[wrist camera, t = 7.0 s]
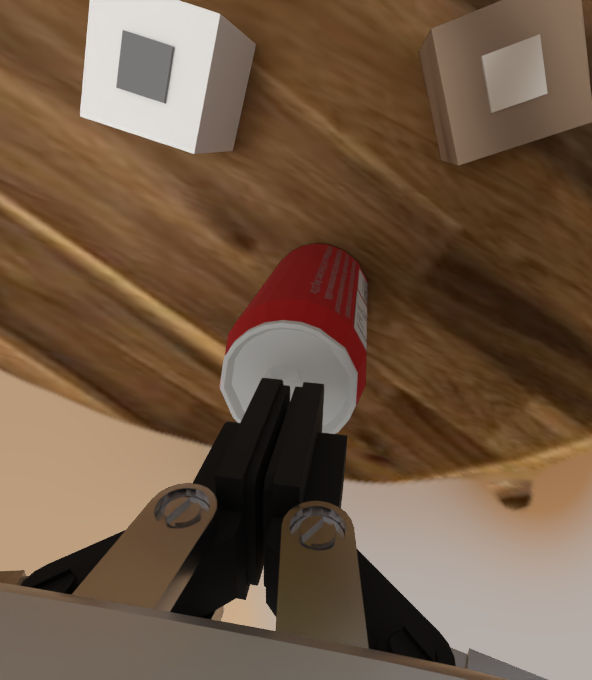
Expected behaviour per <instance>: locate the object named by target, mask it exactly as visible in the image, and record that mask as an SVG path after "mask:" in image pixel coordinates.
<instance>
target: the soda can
mask: <svg viewBox="0 0 592 680" xmlns="http://www.w3.org/2000/svg"><path fill="white" fill-rule="evenodd" d="M366 354H367V279H366V277H365V275H364V273H363V271H362V269H361V267H360V265H359V263H358V262H357V261H356V260H355V259H353V258H352V257H351V256H350V255H348V254H347V253H346V252H345V251H343V250H342V249H339V248H337V247H334V246H331V245H328V244H318V243H316V244H311V245H305V246H301V247H299V248H297V249H295V250H293V251H291V252H290V253H289V254H288V255H287V256H286V257H285V258H283V259H282V260H281V262H280V263H279V264H278V266H277V267H276V268H275V270H274V271H273V273H272V274H271V275H270V277H269V278H268V279H267V281H266V282H265V284H264V285H263V286H262V288H261V289H260V290H259V292H258V293H257V295H256V296H255V297H254V299H253V300H252V301H251V303H250V304H249V305H248V307H247V308H246V310H245V311H244V312H243V314H242V315H241V316H240V318H239V319H238V321H237V322H236V324H235V325H234V327H233V328H232V330H231V331H230V333H229V334H228V340H227V346H226V352H225V357H224V361H223V368H222V375H221V381H220V389H221V392H222V394H223V396H224V398H225V401H226V403H227V405H228V407H229V410H230V412H231V414H232V416H233V418H234V419H235V420H236V421H237V422H238V423H240V422H241V420H242V418H243V416H244V414H245V412H246V410H247V408H248V406H249V404H250V402H251V399H252V397H253V395H254V393H255V391H256V389H257V387H258V385H259V383H260V381H261V379H262V378H271V379H281V380H283V385H287V386H290V401H291V398H292V395H293V392H294V389H295V387H296V386H297V387H302V386H303V383H304V382H310V383H319V384H324V404H323V422H322V433H330V434H336V433H337V432H339V431H340V429H341V428H342V427H343V426H344V425H345V424H346V423H347V421H348V420H349V419H350V417H351V415H352V413H353V410H354V408H355V406H356V405H357V403H358V401H359V399H360V397H361V394H362V392H363V390H364V388H365V386H366Z"/></svg>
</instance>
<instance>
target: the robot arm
mask: <svg viewBox="0 0 592 680" xmlns="http://www.w3.org/2000/svg"><path fill="white" fill-rule="evenodd" d="M323 404H324V384H319V383H310V382H304V383H303V386H302V387H297V386H296V387H295V389H294V392H293V395H292V398H291V401H290V386H287V385H283V380H281V379H271V378H262V379H261V381H260V383H259V385H258V387H257V389H256V391H255V393H254V395H253V397H252V399H251V402H250V404H249V406H248V408H247V410H246V412H245V414H244V416H243V418H242V420H241V422H240V423H236V422H226V423H225V424H224V425H223V427H222V429H221V431H220V433H219V435H218V437H217V439H216V440H215V442H214V444H213V446H212V448H211V450H210V452H209V454H208V455H207V457H206V459H205V461H204V463H203V465H202V467H201V469H200V470H199V472H198V474H197V476H196V478H195V480H194V482H193V484H192V483H185V484H177V485H174V486H171V487H168V488H166V489H165V490H163V491H161V492H159V493H158V494H157V495H156V496H155V497H154V498H153V499H152V500H151V501H150V502H149V503H148V504H147V506H146V507H145V508H144V509H143V510H142V512H141V513H140V514H139V515H138V516H137V517H136V519H135V520H134V521H133V522H132V523H131V525H130V526H129V527H128V528H127V529H126V530H125V531H122V532H120V533H118V534H116V535H113V536H111V537H109V538H107V539H104V540H102V541H100V542H97V543H95V544H93V545H90V546H88V547H86V548H84V549H81V550H79V551H77V552H75V553H72V554H70V555H68V556H65V557H63V558H61V559H59V560H56V561H54V562H52V563H49V564H47V565H46V566H44V567H42V568H40V569H38V570H36V571H35V572H34V573H32V574H31V575H30V576H26V574H25V571H24V570H21V571H3V572H2V571H1V572H0V680H547V679H544V678H542V677H539V676H537V675H535V674H532V673H530V672H527V671H525V670H522V669H519V668H517V667H514V666H512V665H509V664H507V663H505V662H502V661H500V660H497V659H495V658H492V657H490V656H487V655H484V654H482V653H479V652H477V651H474V650H472V649H469V651H468V654H465V653H462V652H460V651H458V650H455V649H453V648H450V646H449V644H448V642H447V641H446V640H445V639H444V637H443V636H442V635H441V634H440V632H439V631H438V630H437V629H436V628H435V627H434V626H433V625H432V624H431V623H430V622H429V621H428V620H427V619H426V618H425V617H424V616H423V615H422V614H421V613H420V612H419V611H418V610H417V609H416V608H415V607H414V606H413V605H412V604H411V603H410V602H409V601H408V600H407V599H406V598H405V597H404V596H403V595H402V594H401V593H400V592H399V591H398V590H397V589H396V588H395V587H394V586H393V585H392V584H391V583H390V582H389V581H388V580H387V579H386V578H385V577H384V576H383V575H382V574H381V573H380V572H379V571H378V570H377V569H376V568H375V567H374V566H373V565H372V564H371V563H370V562H369V561H368V560H367V559H366V558H365V557H364V556H363V555H362V554H361V553H360V552H359V551H358V550H357V549H356V540H355V533H354V527H353V524H352V521H351V519H350V517H349V516H348V515H347V513H346V512H345V511H343V510H342V509H341V501H342V491H343V482H344V471H345V460H346V448H347V435H338V434H330V433H322V422H323ZM263 566H264V586H265V587H266V603H267V604H268V606H269V607H270V609H271V610H272V612H273V613H274V615H275V616H276V631H270V630H265V629H260V628H255V627H249V626H244V625H238V624H233V623H227V622H222V621H221V618H222V615H223V606H224V605H225V604H227V603H229V602H230V601H232V600H234V599H235V598H238V599H244V600H246V597H247V593H248V590H249V586H250V584H252V585H258V583H259V580H260V577H261V573H262V569H263Z"/></svg>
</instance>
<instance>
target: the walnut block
mask: <svg viewBox="0 0 592 680" xmlns="http://www.w3.org/2000/svg"><path fill="white" fill-rule="evenodd" d="M419 56H420V61H421V66H422V70H423V75H424V80H425V85H426V90H427V94H428V99H429V104H430V109H431V113H432V118H433V123H434V128H435V132H436V137H437V142H438V147H439V152H440V156H441V161H444V162H448V163H451V164H455V165H458V166H459V165H462V164H465V163H468V162H471V161H474V160H477V159H480V158H483V157H486V156H489V155H492V154H496V153H499V152H502V151H505V150H508V149H511V148H514V147H517V146H520V145H523V144H526V143H529V142H532V141H535V140H539V139H542V138H545V137H548V136H551V135H554V134H557V133H560V132H563V131H566V130H569V129H572V128H575V127H578V126H582V125H585V124H588V123H591V122H592V98H591V88H590V78H589V68H588V58H587V49H586V39H585V29H584V19H583V9H582V0H501V1H499V2H496V3H494V4H491V5H489V6H486V7H484V8H481V9H479V10H476V11H474V12H471V13H469V14H466V15H464V16H461V17H459V18H456V19H454V20H451V21H449V22H446V23H444V24H442V25H439V26H437V27H434V28H432V29H431V30H430V32H429V34H428V35H427V37H426V39H425V41H424V43H423V45H422V46H421V48H420V50H419Z"/></svg>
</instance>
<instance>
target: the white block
mask: <svg viewBox="0 0 592 680" xmlns="http://www.w3.org/2000/svg"><path fill="white" fill-rule="evenodd" d="M255 47H256V44H255V43H254V42H253V41H252V40H251V39H249V38H248V37H247V36H246V35H245V34H243V33H242V32H241V31H240V30H239V29H238V28H236V27H235V26H234V25H233V24H232V23H231V22H229V21H228V20H227V19H226V18H225V17H223V16H222V15H221V14H219V13H216V12H213V11H210V10H207V9H204V8H201V7H198V6H195V5H191V4H188V3H185V2H182V1H179V0H90V4H89V16H88V28H87V39H86V51H85V63H84V74H83V86H82V98H81V109H80V116H81V117H84V118H87V119H90V120H93V121H96V122H99V123H102V124H105V125H108V126H111V127H114V128H117V129H120V130H123V131H126V132H129V133H132V134H135V135H138V136H141V137H144V138H147V139H150V140H153V141H156V142H159V143H162V144H165V145H169V146H172V147H175V148H178V149H181V150H184V151H187V152H190V153H193V154H200V153H213V152H226V151H233V148H234V143H235V138H236V134H237V129H238V125H239V120H240V116H241V111H242V107H243V102H244V97H245V93H246V88H247V84H248V79H249V75H250V70H251V66H252V61H253V56H254V52H255Z"/></svg>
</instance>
